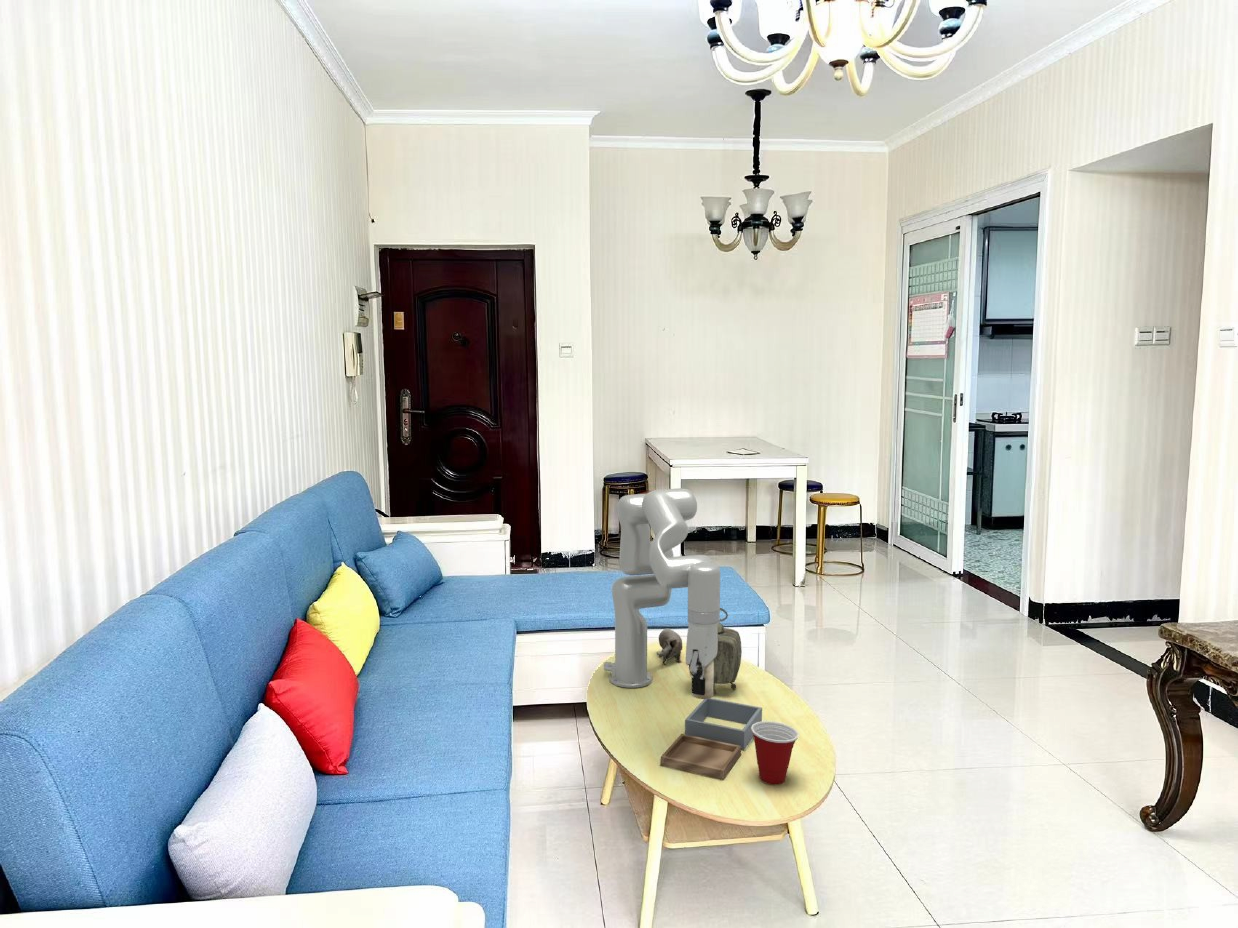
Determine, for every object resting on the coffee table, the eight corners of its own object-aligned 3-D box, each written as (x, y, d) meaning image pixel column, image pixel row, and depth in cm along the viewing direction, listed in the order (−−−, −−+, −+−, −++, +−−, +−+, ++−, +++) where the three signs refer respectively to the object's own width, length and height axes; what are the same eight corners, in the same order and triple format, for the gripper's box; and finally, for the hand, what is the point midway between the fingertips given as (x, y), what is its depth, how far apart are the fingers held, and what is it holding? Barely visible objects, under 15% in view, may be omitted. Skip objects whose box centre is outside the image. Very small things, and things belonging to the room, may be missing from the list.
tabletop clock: (740, 687, 249) (742, 604, 246) (737, 700, 241) (739, 614, 237) (691, 682, 253) (692, 601, 249) (686, 694, 244) (687, 610, 241)
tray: (660, 765, 203) (660, 756, 202) (681, 742, 215) (681, 733, 214) (723, 780, 196) (723, 770, 196) (741, 754, 208) (741, 746, 208)
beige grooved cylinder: (689, 696, 202) (689, 664, 201) (696, 689, 206) (696, 657, 205) (709, 700, 200) (709, 667, 199) (716, 692, 204) (716, 660, 203)
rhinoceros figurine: (684, 642, 280) (680, 614, 270) (685, 678, 270) (681, 651, 260) (660, 643, 281) (656, 616, 271) (661, 679, 271) (656, 652, 261)
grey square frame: (684, 738, 217) (684, 719, 216) (705, 714, 231) (705, 697, 230) (744, 750, 210) (744, 731, 210) (761, 725, 224) (762, 707, 224)
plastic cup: (806, 786, 193) (807, 736, 192) (762, 793, 190) (763, 742, 188) (783, 764, 203) (785, 716, 202) (742, 770, 200) (743, 722, 199)
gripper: (701, 604, 210) (699, 675, 212) (675, 623, 194) (674, 700, 197) (730, 607, 206) (728, 680, 209) (706, 628, 191) (705, 706, 194)
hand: (702, 689), depth 203 cm, fingers closed on beige grooved cylinder, 5 cm apart
